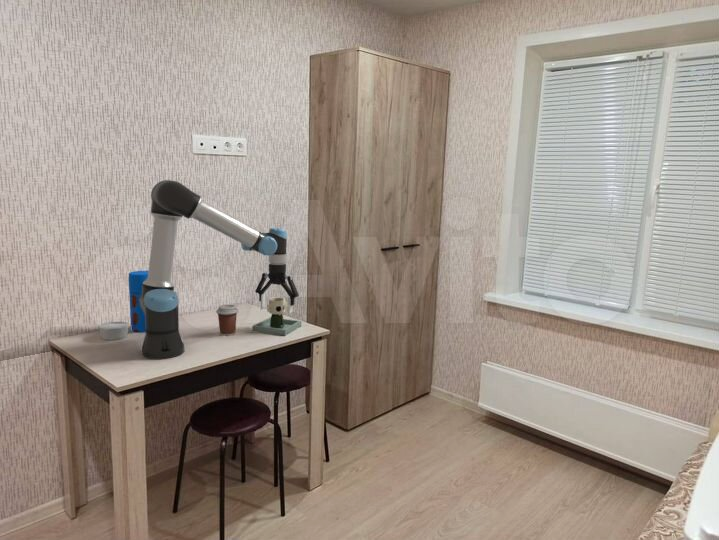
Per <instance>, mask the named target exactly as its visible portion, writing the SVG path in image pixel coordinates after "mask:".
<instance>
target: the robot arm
mask: <svg viewBox="0 0 719 540" xmlns="http://www.w3.org/2000/svg"><path fill="white" fill-rule="evenodd" d="M150 198H151V207H150V215H151V216H153V218H154V219H153V220H154V221H153V228H152V238H151V245H150V254H149V256H150V257H149V263H148V270H147V271H148V278H147V280H145V281H144V282H143V287H142V293H141V295H140V298H139V303H140V307H141V309H142V310H143V312H144V314H145V324H146V332H145V336H144V339H143V343H142V346H141V356H143V357H144V358H147V359H152V360H161V359H163V360H164V359H170V358H174V357H177V356H178V357H179V356H180V355H182V354H184V353H185V344H184V342H183V340H182V339H183V338H182V336H181V334H180V325H179V324H180V323H179V298H178V293H177V292H176V291H175V290H174V289H175V284H174V283H173V282H172V275H173V273H172V272H173V267H174V266H173V265H174V256H175V248H176V247H175V246H176V238H177V230H178V222H179V221H180V220H181V219H182V218H183V217H185V218H186V219H187V220H188V219H194V220H196V221H198V222H200V223H202V224H203V225H206V226H207V227H209V228H211V229H213V230H215V231H217V232H219V233H221V234H223V235H224V236H226V237H229V238H231V239H233V240H235V241H237V242H239V243H240V245H241V249H242V250H243V251H246V252H247V251H249V252H250V251H253V252H257V253H258V254H261V255H263V256H268V272H263V273H261V279H260V281H259V282H258V284H257V287H256V288H255V291H254V292H255V293H256V294H258V296H259V299H258V300H259V302H260V310H265V309H266V291H267V290H268V289H269V288H270V286H272V285H277V286H281V287H282V288H283V289H284V291H285V292H286V294H287V295H288V296H289V298H288V303H287V305H288V307H287V308H288V309H287V310H288V311H287V313H288V314H291V313H293V311H294V310H293V306H295V299H296V298H298V297H299V295H300V293H299V292H298V290H297V287H296V285H295V282H294V280H293V277H294V276H293V275H292V274H290V275H287V274H286V273H287V264H286V263H287V245H288V243H287V239H288V238H287V237H288V235H287V229H286V228H282V227H270V228H269V229H268V230H269V231H268V232H261V231H259V230H257V229H256V228H254V227H252V226H250V225H248V224H247V223H245V222H243V221H241V220H239V219H237V218H235V216H234V217H233V216H232V215H230V214H228V213H227V212H224V211H223V210H221V209H219V208H217V207H215V206H214V205H212V204H210V203H208V202H206V201H204V200H203V199H202V196H201V195H199V194H197V193H196V192H194V191H192V190H191V189H190V188H188V187H187V186H186V185H184V184H182V183H181V182H178V181H177V180H171V179H169V180H168V179H165V180H161V181H159V182H157V183H156V184H155V185H154V186H153V188H152V190H151V192H150ZM267 278H268V279H269V280H268V281H267V282H266V280H267ZM265 282H266V284H265ZM264 284H265V285H264Z"/></svg>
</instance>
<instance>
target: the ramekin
mask: <svg viewBox="0 0 719 540" xmlns="http://www.w3.org/2000/svg"><path fill="white" fill-rule="evenodd" d="M129 327H130V324H129V323H128V322H125V321H109V322H104V323H102V324H99V325H98V329H99V332H100V333H99V334H100V337H101V338H102V340H105V341H119V340H123V339H125V338H126V337H127V336H128V333H129Z"/></svg>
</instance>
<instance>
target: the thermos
mask: <svg viewBox="0 0 719 540" xmlns="http://www.w3.org/2000/svg"><path fill="white" fill-rule="evenodd" d="M148 271H149V270H133V271H130V272H128V292H129V293H128V294H129V295H128V296H129V313H130V315H129V316H130V327H131V332H132V333H133V332H134V333H146V324H145V314H144V312H143V310H142V309H141V307H140V303H139V298H140V295H141V293H142V287H143V282H144V281H145V280H147V278H148Z"/></svg>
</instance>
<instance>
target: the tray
mask: <svg viewBox="0 0 719 540" xmlns="http://www.w3.org/2000/svg"><path fill="white" fill-rule="evenodd" d="M283 320H284V327H282V326H281V328H273V327H271V326H270V322H271V316H270V317H268V318H266V319H265V318H264V319H263V320H262V321H260V322H257V323H255V324H253V325H251V326H252V327H251V328H252V332H255V333H261V334H262V333H264V334H269V335H276V336H277V335H278V336H285V337H286V336H287V335H289V334H291V333H292V332H294V331H297V330H298V329H299V328H301V327H302V320H298V319H297V320H296V319H287V318H283ZM297 328H298V329H297Z"/></svg>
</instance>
